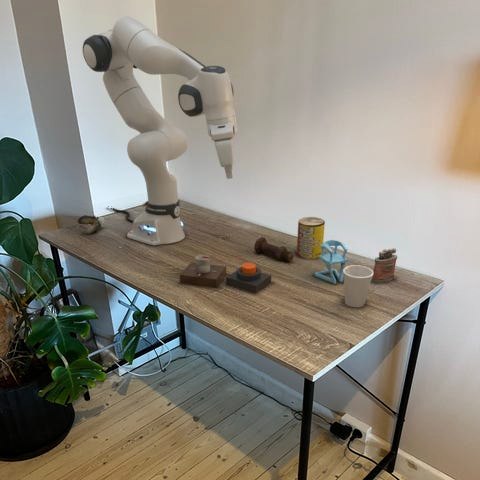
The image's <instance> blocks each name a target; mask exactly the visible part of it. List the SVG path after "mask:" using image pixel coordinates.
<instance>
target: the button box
mask: <svg viewBox="0 0 480 480" xmlns="http://www.w3.org/2000/svg"><path fill="white" fill-rule="evenodd" d="M271 283H272V274H269V273H265V272H262V270H261V268H259V267H258V266H256V273H254V274H244V273H242V266H240V267H239V268H237V270H235V271H234V272H231V273H230V274H229V275H226V276H225V285H226V286H230V287H233V288H236V289H240V290H243V291H246V292H250V293H253V294H257V293H258V292H260V291H261V290H263V289H264V288H266V287H267V286H268V285H270V284H271Z"/></svg>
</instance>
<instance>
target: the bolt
mask: <svg viewBox="0 0 480 480" xmlns="http://www.w3.org/2000/svg"><path fill="white" fill-rule="evenodd" d="M253 246H254V251H255V252H256V253H257V254H262V253H266V254H270V255H272V256H275V259H276V260H277V261H280V262H282V261H287V262H292V261H293V259H294V258H295V254H294V252H292V251H289V250H288V248H287V247H286V246H276V245H274V244H271V243H268V240H267V238H266V237H258V238H257V239H256V241H255V242H254V245H253Z"/></svg>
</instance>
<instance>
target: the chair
mask: <svg viewBox="0 0 480 480" xmlns="http://www.w3.org/2000/svg"><path fill="white" fill-rule="evenodd" d="M339 246H340V247H341V248H342V249H343V253H342V254H340V253H339V252H338V247H339ZM331 247H334V251H333V250H332V248H331ZM321 249H322V254H321V255H319V258H318V259H319V260H322V262H323V263H324V264H325V266H326V268H327V269H326V270H322V271H316V272H314V276H315V277H317V278H318V279H322V280H324V281H327V282H329V283H331V284H334V285H335V284H336V283H337V281H338V282H339V283H344V273H343V270H344V268H346V263H348V261H349V260H348V259H349V258H347V257H346V254H347V252H348V248H347V246H346V244H345V243H344V242H342V241H338V240H335V239H329V240H326V241H323V244H322V245H321ZM325 250H326V251H327V252H328V253H325ZM337 264H340V269H339V270H340V271H338V270H337V269H336V268H332V266H334V265H337ZM326 274H329V275H330V276H326ZM336 279H337V280H336Z"/></svg>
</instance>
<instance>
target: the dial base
mask: <svg viewBox="0 0 480 480" xmlns="http://www.w3.org/2000/svg"><path fill="white" fill-rule="evenodd" d="M226 277H227V266H225V265H219V264H210V271H209V272H207V273H199V272H197V271H196V262H190V263H189V264H188V265H187V266H186V267H185V269H184V270H183V271H182V272H181V273H180V274H179V283H180V284H184V285H191V286H200V287H206V288H207V287H208V288H216V289H217V288H218V286H219V285H221V282H222V281H223V280H224V278H226Z"/></svg>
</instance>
